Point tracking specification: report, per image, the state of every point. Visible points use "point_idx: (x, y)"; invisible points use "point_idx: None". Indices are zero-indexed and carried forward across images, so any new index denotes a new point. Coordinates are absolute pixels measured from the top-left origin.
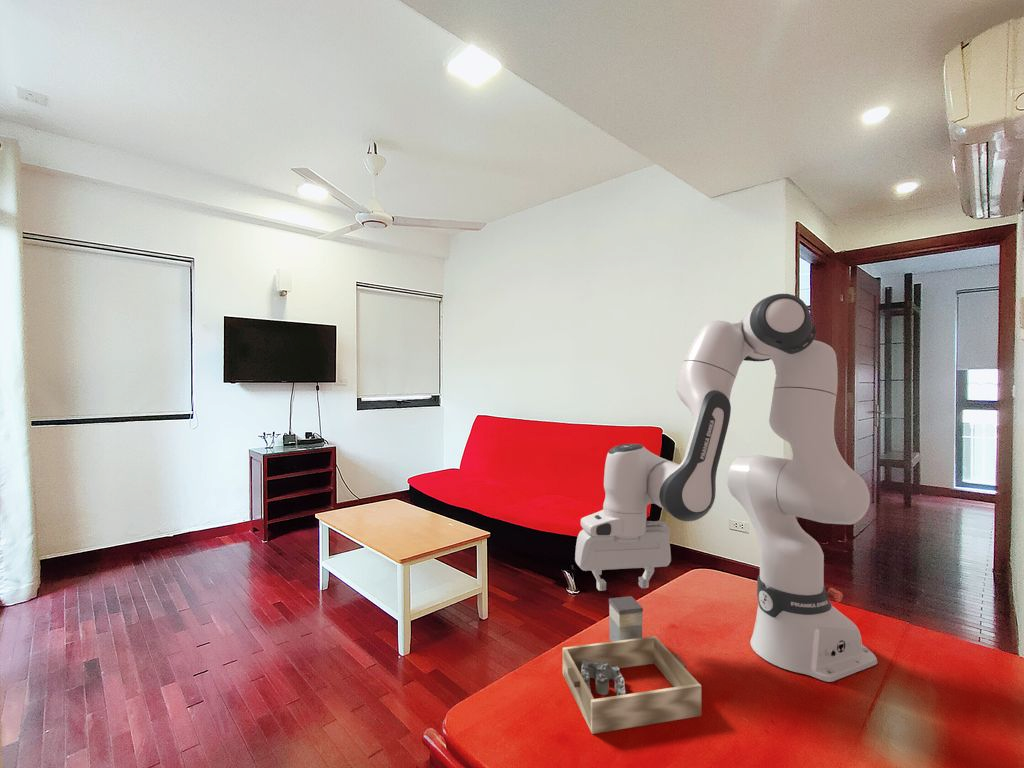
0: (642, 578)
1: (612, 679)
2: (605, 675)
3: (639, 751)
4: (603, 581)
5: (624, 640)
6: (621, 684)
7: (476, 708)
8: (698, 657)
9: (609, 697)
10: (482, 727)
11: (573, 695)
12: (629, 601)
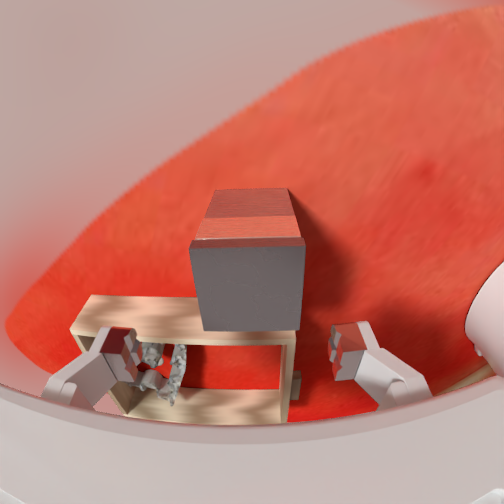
0: (350, 366)
1: None
2: None
3: None
4: (121, 372)
5: (205, 340)
6: (176, 380)
7: (13, 321)
8: (386, 295)
9: (146, 417)
10: (28, 344)
11: None
12: (272, 285)
